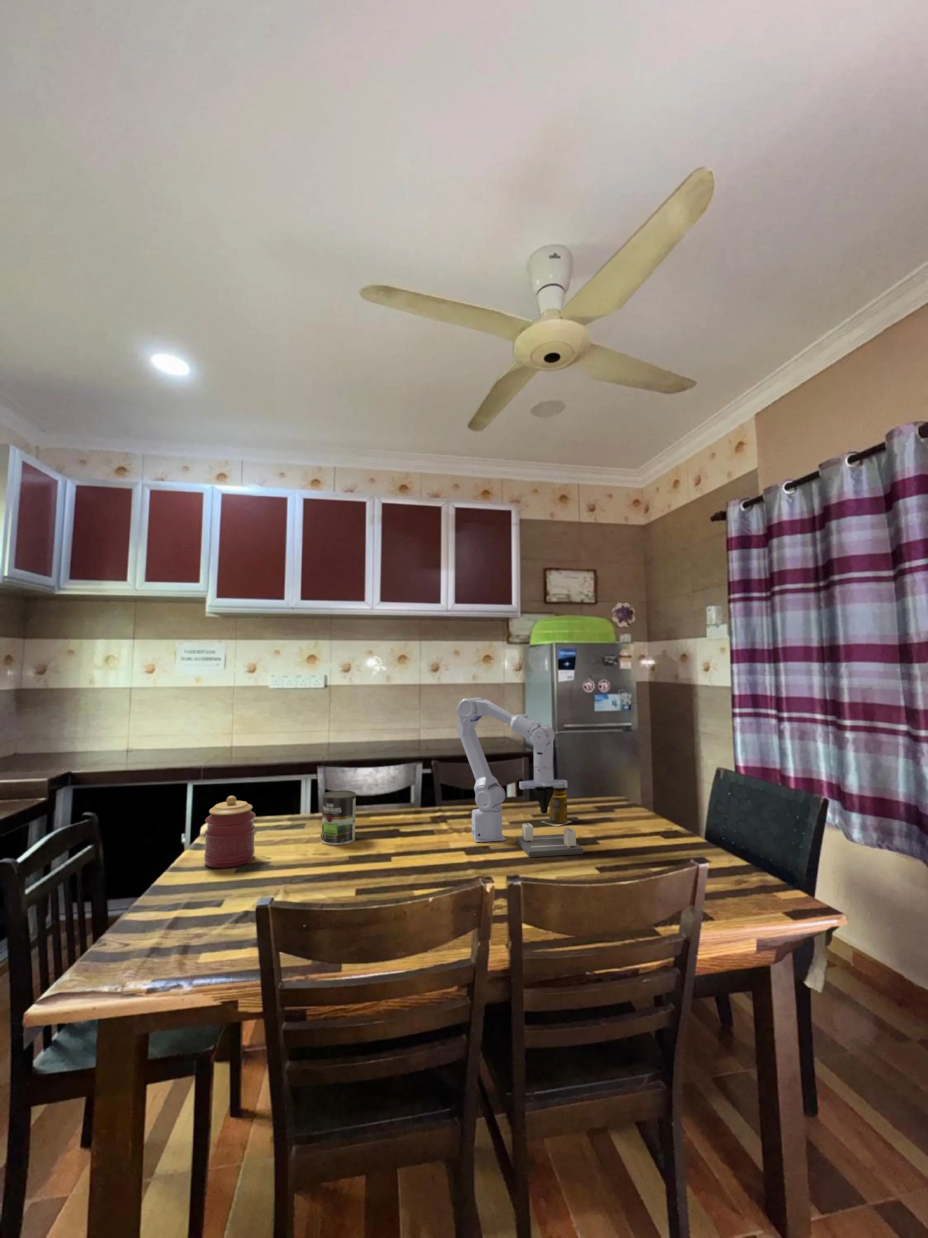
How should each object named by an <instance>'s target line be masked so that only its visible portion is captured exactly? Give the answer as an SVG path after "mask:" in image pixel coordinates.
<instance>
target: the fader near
mask: <svg viewBox="0 0 928 1238" xmlns="http://www.w3.org/2000/svg"><path fill="white" fill-rule="evenodd" d="M563 834H564V843H565V844H566V845H567V846H576V843H577V835H576V834H577V832H576V830H575V829H573V828H571V827H567V828H563Z"/></svg>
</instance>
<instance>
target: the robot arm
mask: <svg viewBox="0 0 928 1238" xmlns="http://www.w3.org/2000/svg"><path fill="white" fill-rule="evenodd" d="M455 712H456V714H457V717H456V718H457V721H456V730H457V733H458V736H459V738H460V741H461V744H462V747H463V750H464V753H465V754H466V757H467V760H468V763H469V766H470V768H471V771H472V774H473V777H474V780H475V783H474V786H473V789H474V790H473V791H474V793H475V794H474V795H475V797H474V800H475V804H476V806H477V808H476V809H472V811H471V836H472V838H473V839H474V841H475V843H484V842H485V843H486V842H499V841H500V842H501V841H503V842H504V841H506V837H505V836H504V834H503V805H502V804H503V802H504V801H505V799H506V792H505V789H504V788H503V786H501V784H499V781H498V779H497V778H496V777H495V776H494V775H493V774H492V772H491V769H490V767H489V764H488V761H487V758H486V756H485V753H484V751H483V748H482V745H481V742H480V740H479V737H478V734H477V732H476V729H475V728H476V726H477V725H478V722H479V720H480V719H482V717H484V716H489V717H492V718H494V719H496V720H498V721H500V722H502V723H504V724H507V725H509V726H510V729H511V731H512V732H515V733H516V734H518V735H520V736H521V737H524V738H526V739H527V740H529V741H530V742H531V743H532V745H533V779H531V780H523V781H519V784H518V787H519V789H520V790H526V789H527V790H528V789H531V790H533V792H534V794H535V796H536V798H537V801H538V805H539V809H540V813H541V814H548V809H549V802H550V800H551V797H552V795H553V794H554V789H553V788H556V787H564V788H568V780H566V779H554V773H553V772H554V767H553V766H554V765H553V764H554V761H553V760H554V757H553V741H554V740H555V737H556V734H555V731H554V729H553V728H552V727H551V726H550V725H548V724H543V725H542V722H540V721H535V720H533V719H531V718H529V717H528V715H527V714H525V713H523V714H521V713H520V714H516V715H514V714H512V713H511V712H509V711H507V710H506V709H504V708H502V707H501V706H498V705H497V704H495V703H494V702H492V701H490V700H488V699H484V698H483V697H479V696H476V697H470V698H465V697H464V698H463V699H461V700H460V701H459V703H458V705H457V707H456V709H455Z"/></svg>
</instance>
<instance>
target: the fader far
mask: <svg viewBox="0 0 928 1238" xmlns="http://www.w3.org/2000/svg"><path fill="white" fill-rule="evenodd" d="M521 828H522V829H521V830H522V832H521V833H522V837H523V838H524V840H525V841H529V840H533V836H534V826H533V825H532V824H531V823H529V822H528V823H527V822H525V823H522V826H521Z"/></svg>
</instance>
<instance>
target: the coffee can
mask: <svg viewBox="0 0 928 1238" xmlns="http://www.w3.org/2000/svg"><path fill="white" fill-rule="evenodd" d="M321 796H322V810H321V811H322V813H321V815H322V816H321V817H322V820H321V821H322V822H321V823H322V824H321V843H322V844H324V845H327V846H342V845H343V846H344V845H348V844H350V843H354V842H355V840H356V802H357V801H356V799H357V798H356V796H357V792H355V791H351V790H332V791H331V790H330V791H328V792H327V791H326V792H324V793H322V795H321Z"/></svg>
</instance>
